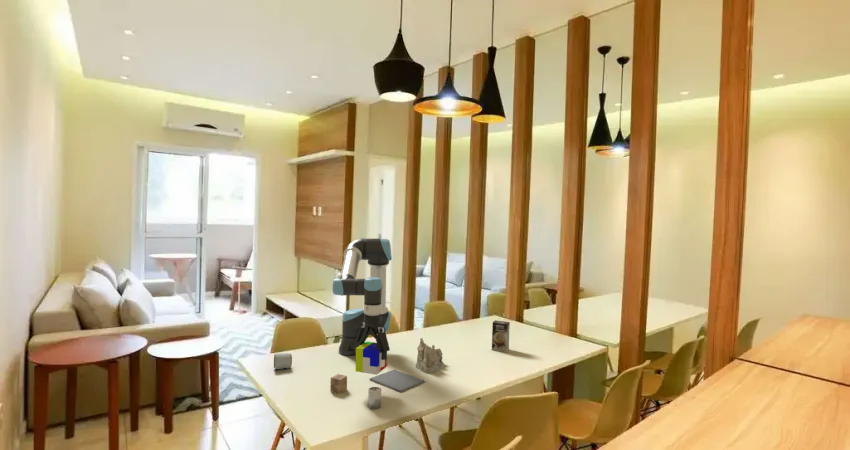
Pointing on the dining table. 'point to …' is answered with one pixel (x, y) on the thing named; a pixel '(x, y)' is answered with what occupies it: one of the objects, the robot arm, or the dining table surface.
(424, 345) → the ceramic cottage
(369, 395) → the grey metal cylinder
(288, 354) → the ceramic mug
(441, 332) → the dining table surface
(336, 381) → the walnut block
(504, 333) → the coffee box
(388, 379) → the charcoal mat
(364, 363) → the puzzle toy
